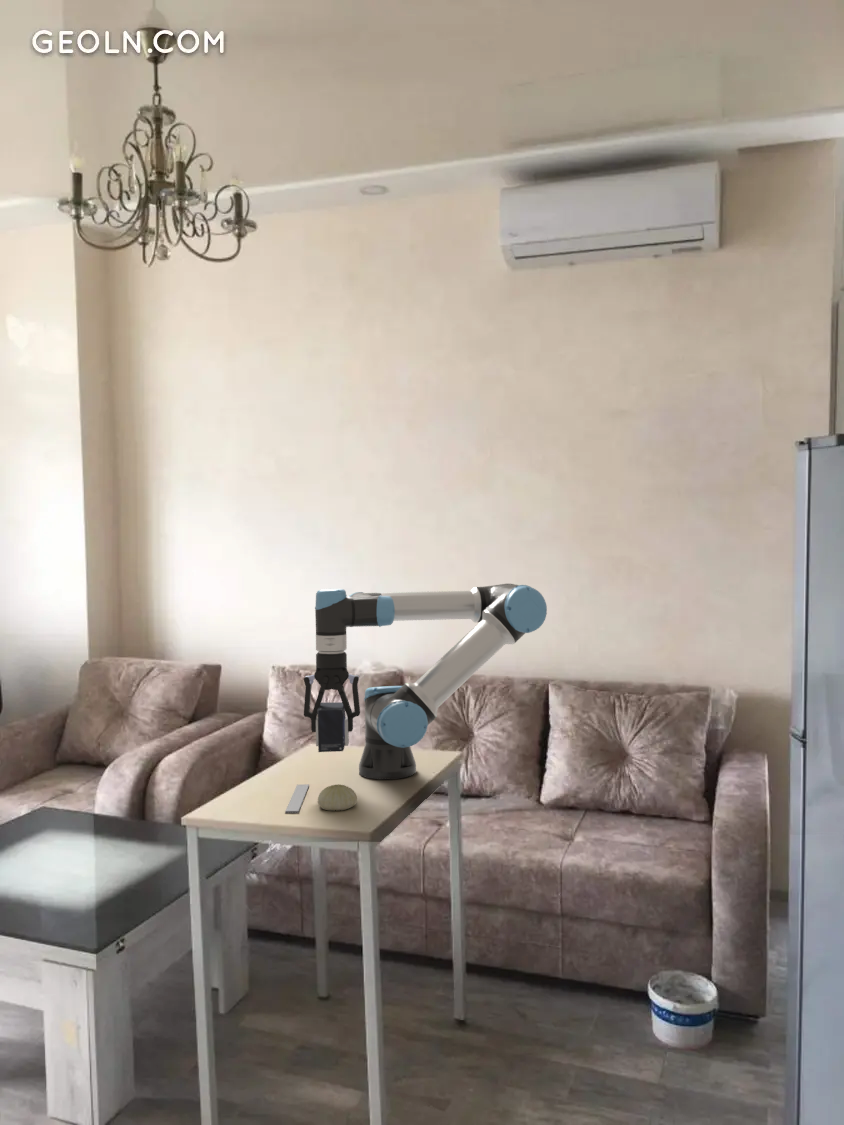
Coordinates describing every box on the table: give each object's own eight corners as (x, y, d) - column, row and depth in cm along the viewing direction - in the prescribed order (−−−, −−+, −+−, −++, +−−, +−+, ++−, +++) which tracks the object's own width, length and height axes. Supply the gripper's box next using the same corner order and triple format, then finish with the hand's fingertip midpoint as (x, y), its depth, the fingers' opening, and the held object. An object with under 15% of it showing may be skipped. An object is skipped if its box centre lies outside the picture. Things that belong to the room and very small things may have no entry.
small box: (344, 751, 231) (343, 708, 231) (317, 753, 231) (316, 709, 231) (347, 742, 242) (345, 701, 241) (321, 743, 242) (319, 702, 241)
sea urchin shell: (312, 804, 218) (317, 774, 224) (318, 821, 224) (324, 791, 229) (351, 805, 217) (356, 774, 222) (356, 823, 223) (361, 792, 228)
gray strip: (309, 786, 241) (309, 784, 241) (298, 813, 218) (298, 810, 218) (297, 786, 241) (297, 784, 241) (285, 813, 218) (285, 811, 218)
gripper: (290, 654, 232) (291, 748, 232) (370, 653, 232) (371, 747, 233) (293, 650, 239) (295, 741, 240) (371, 649, 239) (372, 741, 240)
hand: (332, 744), depth 236 cm, fingers closed on small box, 6 cm apart
